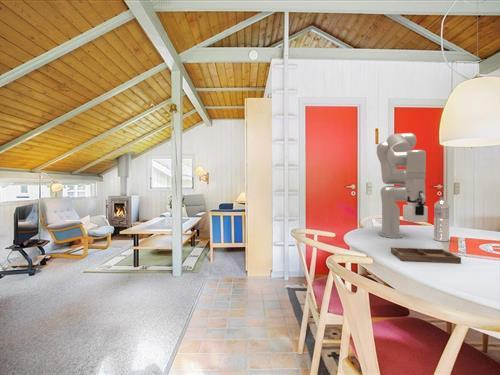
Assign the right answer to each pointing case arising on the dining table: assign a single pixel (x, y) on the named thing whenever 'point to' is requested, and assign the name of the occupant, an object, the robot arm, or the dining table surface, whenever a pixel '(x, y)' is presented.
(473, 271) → the dining table surface
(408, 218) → the medicine bottle
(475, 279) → the dining table surface
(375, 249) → the dining table surface
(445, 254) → the tray
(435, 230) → the water bottle
